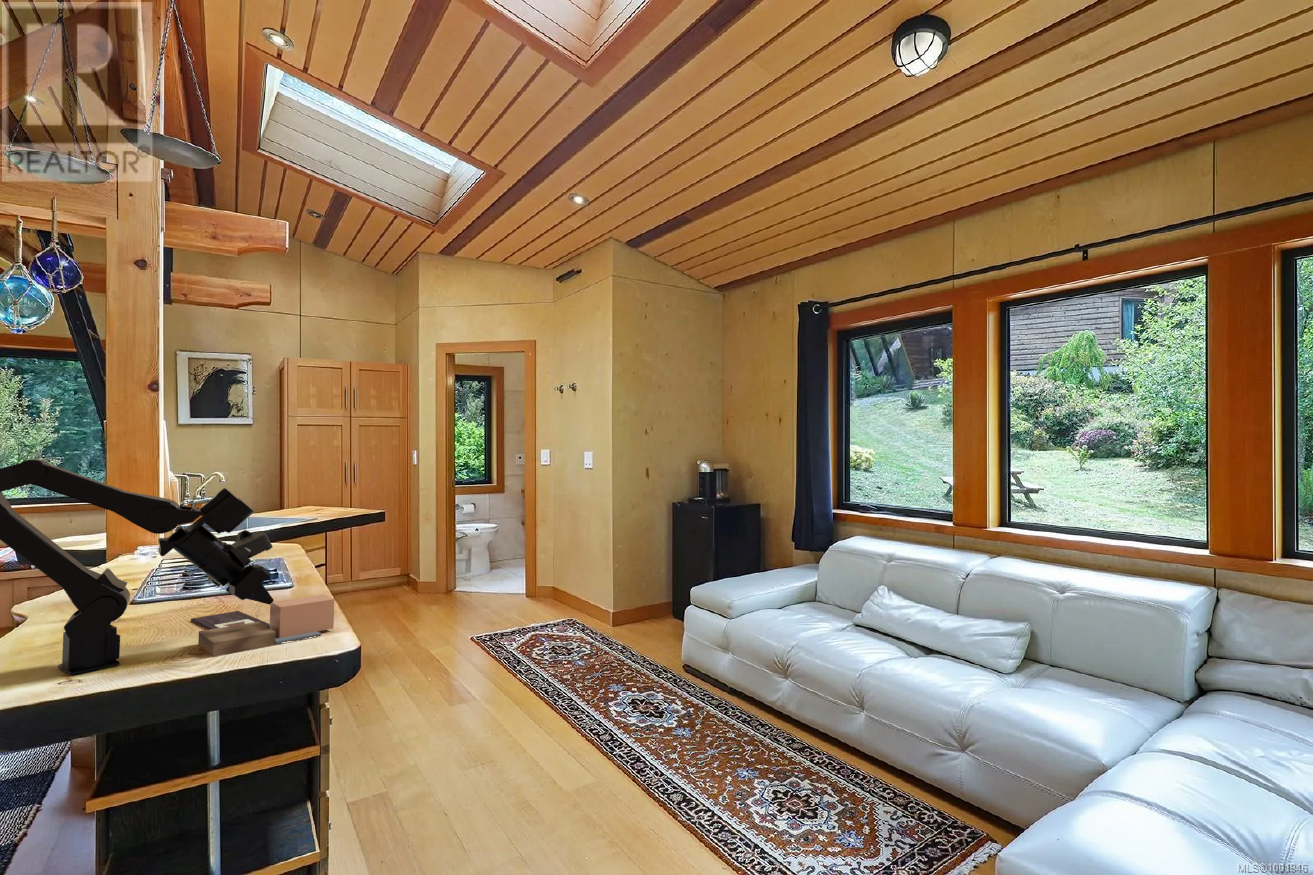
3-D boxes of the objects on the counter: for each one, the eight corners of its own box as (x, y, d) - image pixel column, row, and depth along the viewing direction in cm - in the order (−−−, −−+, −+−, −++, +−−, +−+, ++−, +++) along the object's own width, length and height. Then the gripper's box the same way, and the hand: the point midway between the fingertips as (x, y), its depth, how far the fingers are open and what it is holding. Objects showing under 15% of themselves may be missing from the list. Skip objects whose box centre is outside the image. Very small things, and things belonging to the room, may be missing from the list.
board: (213, 656, 115) (213, 642, 115) (198, 644, 121) (198, 631, 121) (275, 645, 122) (275, 631, 122) (258, 634, 129) (258, 621, 129)
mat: (276, 644, 122) (276, 641, 122) (259, 633, 129) (259, 630, 129) (320, 636, 128) (320, 633, 128) (302, 626, 135) (302, 623, 135)
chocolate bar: (238, 610, 144) (272, 625, 133) (238, 615, 144) (272, 630, 133) (190, 618, 137) (223, 634, 126) (190, 623, 137) (223, 639, 126)
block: (280, 607, 125) (334, 599, 132) (270, 601, 129) (323, 594, 136) (279, 638, 125) (333, 628, 132) (269, 631, 129) (322, 622, 136)
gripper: (259, 523, 116) (321, 576, 124) (228, 514, 129) (287, 563, 137) (205, 572, 110) (275, 624, 118) (179, 558, 123) (243, 606, 131)
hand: (271, 602), depth 126 cm, fingers closed
